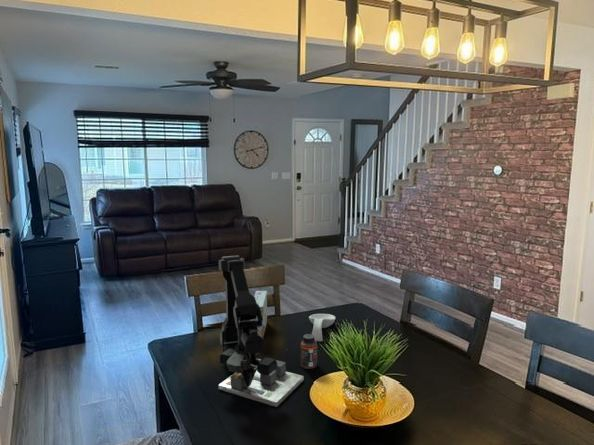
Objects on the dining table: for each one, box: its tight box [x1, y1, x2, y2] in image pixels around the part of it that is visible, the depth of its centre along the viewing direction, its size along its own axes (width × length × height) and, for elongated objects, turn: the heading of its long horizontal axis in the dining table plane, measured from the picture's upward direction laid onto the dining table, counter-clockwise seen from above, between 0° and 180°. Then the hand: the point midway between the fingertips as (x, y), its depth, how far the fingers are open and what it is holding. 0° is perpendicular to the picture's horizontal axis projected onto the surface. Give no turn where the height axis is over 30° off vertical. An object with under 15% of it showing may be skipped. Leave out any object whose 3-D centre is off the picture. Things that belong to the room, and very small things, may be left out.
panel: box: [218, 371, 305, 408], centre depth 149 cm, size 22×18×2 cm
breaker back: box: [275, 359, 287, 377], centre depth 153 cm, size 4×4×4 cm
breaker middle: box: [260, 370, 276, 386], centre depth 147 cm, size 4×4×4 cm
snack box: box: [251, 290, 268, 339], centre depth 191 cm, size 21×6×15 cm, turn 179°
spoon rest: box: [308, 313, 336, 342], centre depth 192 cm, size 24×12×7 cm, turn 171°
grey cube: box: [230, 372, 246, 389], centre depth 145 cm, size 4×4×4 cm
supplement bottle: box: [300, 333, 318, 370], centre depth 161 cm, size 6×6×11 cm
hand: (248, 386), depth 143 cm, fingers closed
